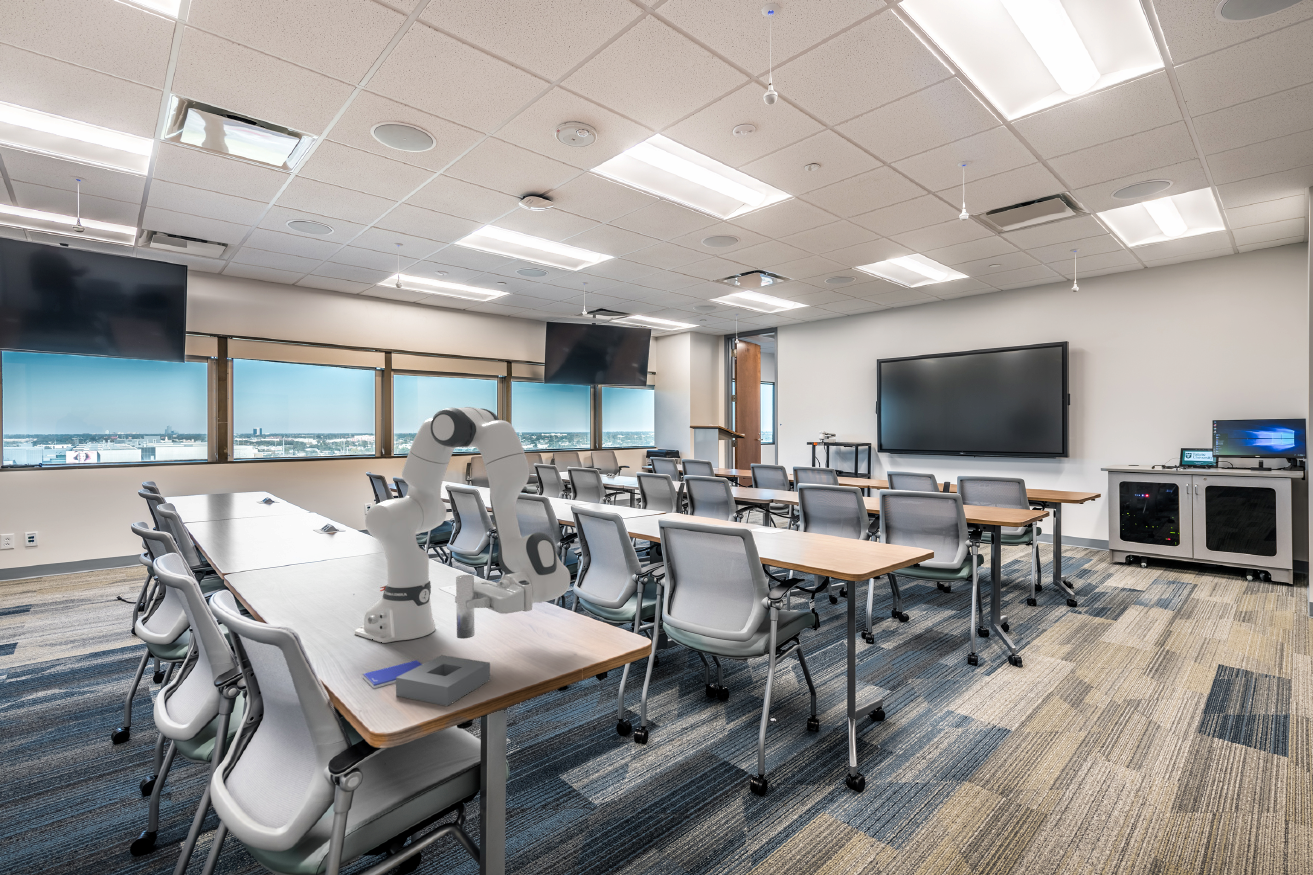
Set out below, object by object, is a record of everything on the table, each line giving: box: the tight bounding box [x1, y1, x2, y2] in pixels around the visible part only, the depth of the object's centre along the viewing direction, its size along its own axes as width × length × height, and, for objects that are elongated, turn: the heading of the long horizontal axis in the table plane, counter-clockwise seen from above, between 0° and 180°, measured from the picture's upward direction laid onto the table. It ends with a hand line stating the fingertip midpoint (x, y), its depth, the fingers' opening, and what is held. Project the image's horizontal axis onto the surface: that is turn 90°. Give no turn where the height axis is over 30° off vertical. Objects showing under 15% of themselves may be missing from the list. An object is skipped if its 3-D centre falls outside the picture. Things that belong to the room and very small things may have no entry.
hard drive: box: [362, 659, 423, 689], centre depth 137 cm, size 2×8×12 cm
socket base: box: [395, 654, 491, 707], centre depth 130 cm, size 14×14×4 cm
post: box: [455, 574, 476, 639], centre depth 138 cm, size 4×4×14 cm
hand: (461, 602), depth 137 cm, fingers closed on post, 4 cm apart
